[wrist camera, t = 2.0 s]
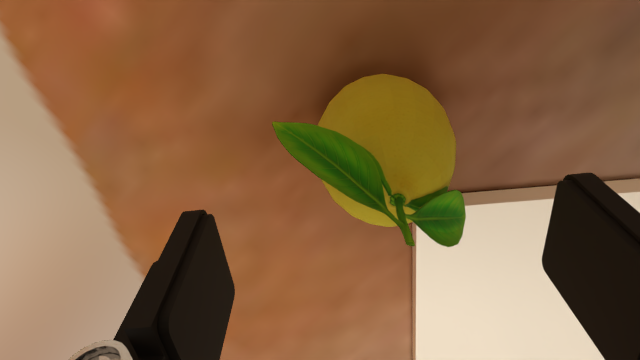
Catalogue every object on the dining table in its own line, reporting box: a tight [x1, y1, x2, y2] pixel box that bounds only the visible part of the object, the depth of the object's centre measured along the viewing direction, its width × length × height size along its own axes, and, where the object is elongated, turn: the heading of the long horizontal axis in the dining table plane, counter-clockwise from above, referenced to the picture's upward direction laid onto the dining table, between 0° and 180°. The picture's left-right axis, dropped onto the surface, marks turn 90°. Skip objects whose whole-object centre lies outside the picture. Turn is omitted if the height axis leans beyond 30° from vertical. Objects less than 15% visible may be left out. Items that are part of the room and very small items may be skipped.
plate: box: [412, 178, 640, 360], centre depth 25 cm, size 14×14×1 cm
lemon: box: [272, 74, 466, 247], centre depth 16 cm, size 7×6×10 cm
